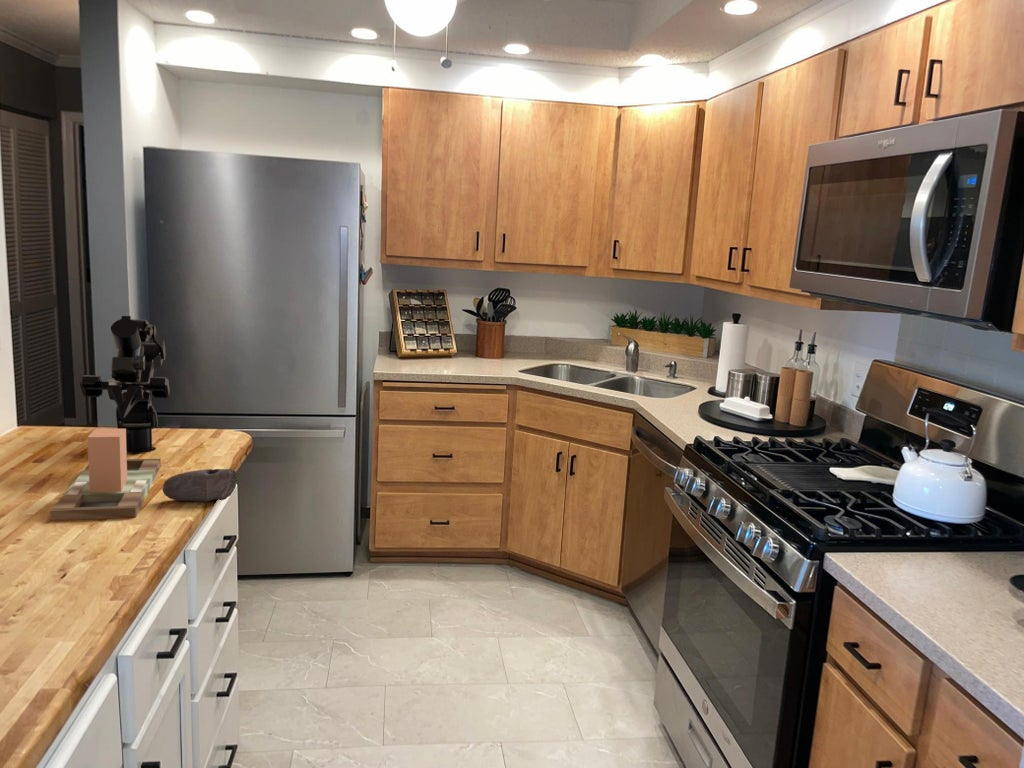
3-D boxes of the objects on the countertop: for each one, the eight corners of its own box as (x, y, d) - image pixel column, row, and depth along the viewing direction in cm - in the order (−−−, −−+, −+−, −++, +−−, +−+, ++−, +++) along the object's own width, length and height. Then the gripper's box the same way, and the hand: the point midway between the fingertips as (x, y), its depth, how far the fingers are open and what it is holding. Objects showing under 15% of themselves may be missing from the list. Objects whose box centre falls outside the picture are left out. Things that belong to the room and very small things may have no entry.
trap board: (92, 467, 181) (92, 459, 180) (160, 466, 185) (160, 457, 185) (51, 520, 148) (50, 510, 147) (135, 517, 152) (135, 506, 152)
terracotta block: (97, 481, 165) (95, 428, 163) (127, 480, 167) (125, 428, 165) (89, 492, 159) (87, 437, 157) (121, 491, 161) (119, 436, 159)
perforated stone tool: (160, 505, 160) (159, 474, 159) (165, 497, 165) (164, 466, 164) (235, 504, 164) (235, 473, 162) (237, 496, 169) (237, 466, 167)
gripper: (80, 341, 175) (70, 398, 167) (168, 344, 181) (163, 399, 173) (88, 368, 184) (79, 423, 176) (171, 370, 190) (166, 424, 182)
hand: (122, 417), depth 176 cm, fingers closed
